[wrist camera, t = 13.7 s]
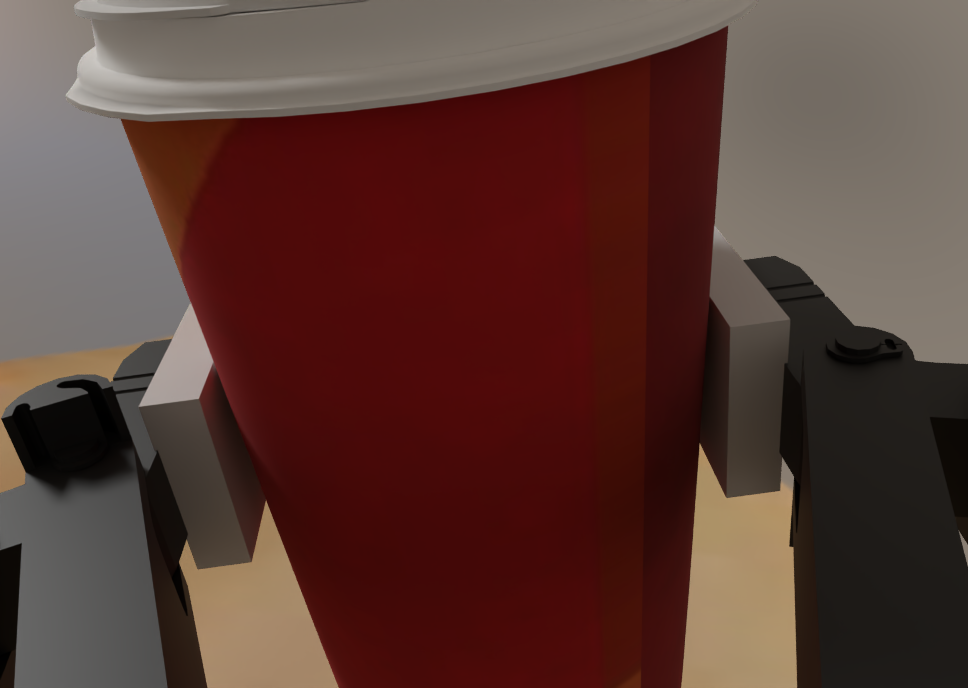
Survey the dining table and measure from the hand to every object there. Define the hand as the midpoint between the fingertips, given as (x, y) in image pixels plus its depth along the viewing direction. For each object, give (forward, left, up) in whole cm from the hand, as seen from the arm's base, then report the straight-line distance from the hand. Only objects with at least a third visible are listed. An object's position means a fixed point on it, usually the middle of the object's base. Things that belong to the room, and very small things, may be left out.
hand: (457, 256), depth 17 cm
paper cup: (-5, -2, -8) cm, 9 cm away
